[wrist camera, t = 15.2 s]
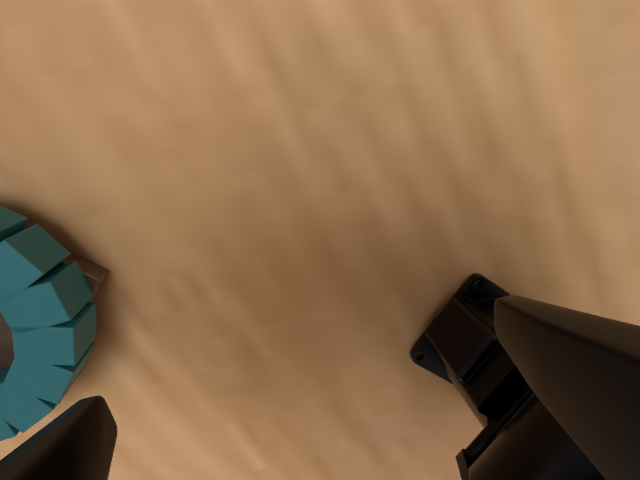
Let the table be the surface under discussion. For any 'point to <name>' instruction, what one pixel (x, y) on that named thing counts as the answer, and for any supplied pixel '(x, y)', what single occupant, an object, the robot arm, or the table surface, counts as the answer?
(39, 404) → the hoop
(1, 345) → the stand
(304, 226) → the table surface
